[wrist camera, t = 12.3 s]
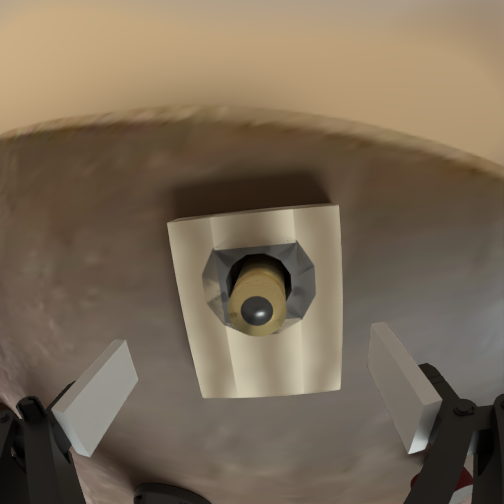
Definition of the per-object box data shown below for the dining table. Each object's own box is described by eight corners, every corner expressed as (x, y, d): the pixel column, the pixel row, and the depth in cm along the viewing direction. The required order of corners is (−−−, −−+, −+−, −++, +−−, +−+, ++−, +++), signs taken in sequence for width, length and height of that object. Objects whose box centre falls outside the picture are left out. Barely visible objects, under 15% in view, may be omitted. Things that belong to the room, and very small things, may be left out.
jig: (208, 381, 31) (202, 397, 28) (177, 218, 27) (167, 222, 24) (335, 372, 30) (340, 389, 27) (331, 202, 26) (338, 205, 23)
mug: (395, 480, 35) (408, 523, 25) (409, 453, 33) (427, 500, 23) (445, 466, 34) (462, 503, 24) (462, 438, 32) (484, 477, 23)
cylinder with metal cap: (243, 297, 29) (232, 339, 21) (237, 256, 28) (223, 286, 20) (285, 293, 28) (289, 334, 20) (281, 252, 27) (283, 280, 20)
